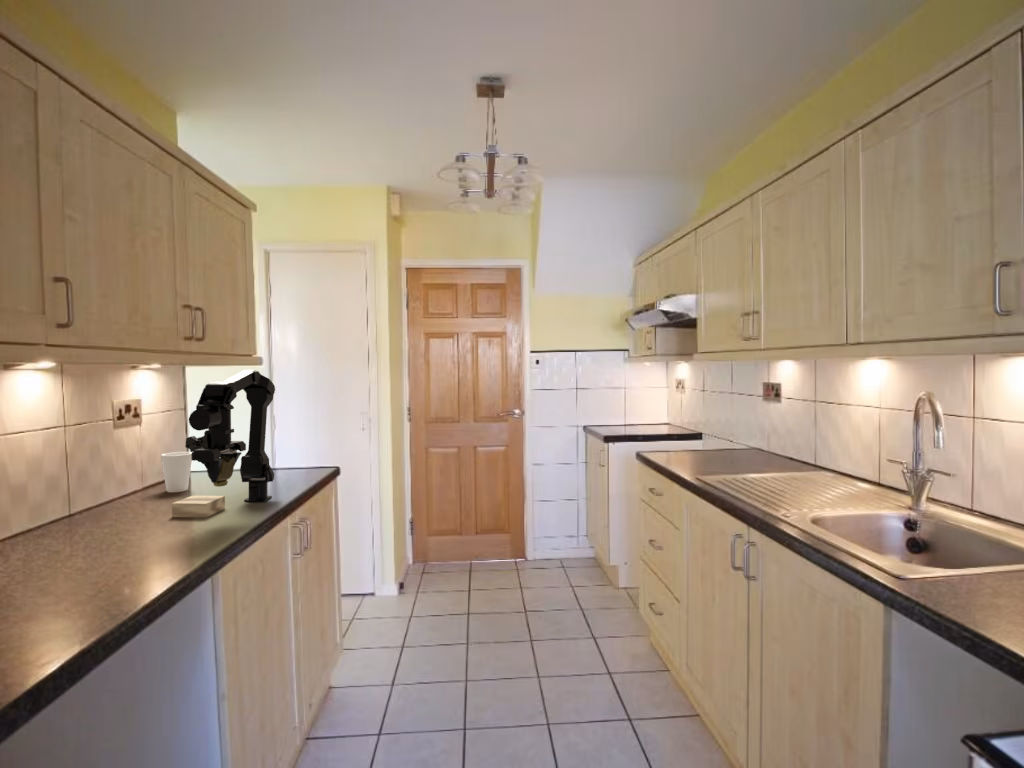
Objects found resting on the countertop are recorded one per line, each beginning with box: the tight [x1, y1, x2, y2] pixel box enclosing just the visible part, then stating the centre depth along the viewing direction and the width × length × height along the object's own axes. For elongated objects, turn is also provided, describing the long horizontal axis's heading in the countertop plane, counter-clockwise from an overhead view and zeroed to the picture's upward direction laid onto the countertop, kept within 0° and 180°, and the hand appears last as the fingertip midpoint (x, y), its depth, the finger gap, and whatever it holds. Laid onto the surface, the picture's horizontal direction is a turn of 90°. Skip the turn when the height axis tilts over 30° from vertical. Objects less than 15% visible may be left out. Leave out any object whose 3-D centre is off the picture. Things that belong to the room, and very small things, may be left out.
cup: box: [206, 456, 235, 488], centre depth 157 cm, size 8×7×8 cm
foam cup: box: [160, 451, 192, 493], centre depth 193 cm, size 10×9×13 cm
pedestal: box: [171, 494, 226, 518], centre depth 163 cm, size 10×10×4 cm
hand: (220, 480), depth 157 cm, fingers closed on cup, 6 cm apart
